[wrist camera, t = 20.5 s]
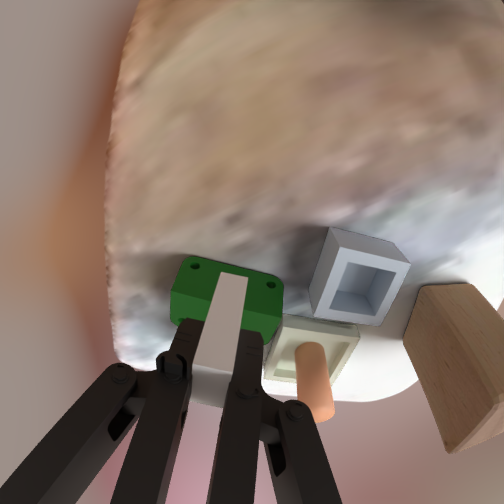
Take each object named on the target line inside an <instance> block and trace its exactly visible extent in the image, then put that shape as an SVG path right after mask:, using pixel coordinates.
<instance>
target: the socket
mask: <svg viewBox="0 0 504 504" xmlns="http://www.w3.org/2000/svg"><path fill="white" fill-rule="evenodd" d="M410 265H411V263H410V262H409V261H408V260H407V258H406V257H405V256H404V255H403V254H402V252H401V251H400V250H399V249H398V248H397V247H396V245H395V244H394V243H392V242H388V241H384V240H380V239H376V238H373V237H369V236H365V235H361V234H357V233H353V232H349V231H345V230H341V229H337V228H333V227H329V230H328V233H327V236H326V240H325V243H324V246H323V249H322V252H321V255H320V258H319V261H318V263H317V266H316V269H315V272H314V275H313V278H312V281H311V283H310V286H309V289H308V291H309V296H310V301H311V307H312V312H313V317H319V318H325V319H331V320H338V321H345V322H351V323H358V324H365V325H373V326H380V325H381V324H382V322H383V320H384V318H385V316H386V314H387V312H388V311H389V309H390V307H391V305H392V303H393V301H394V299H395V297H396V295H397V293H398V291H399V289H400V287H401V285H402V283H403V281H404V278H405V276H406V274H407V272H408V270H409V268H410Z"/></svg>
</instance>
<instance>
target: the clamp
mask: <svg viewBox="0 0 504 504" xmlns="http://www.w3.org/2000/svg"><path fill="white" fill-rule="evenodd" d="M221 272H224V273H229V274H234V275H238V276H243V277H248V282H247V288H246V295H245V301H244V307H243V313H242V319H241V325H240V328H241V329H246V330H251V331H256V332H260V333H261V335H262V338H263V340H264V345H266V344H267V343H269V341H270V339H271V338H272V336H273V334H274V332H275V330H276V328H277V326H278V324H279V323H280V321H281V319H282V308H283V288H284V286H283V283H282V281H281V280H280V279H278V278H277V277H275V276H272V275H268V274H264V273H260V272H256V271H252V270H248V269H244V268H240V267H235V266H231V265H227V264H223V263H219V262H215V261H211V260H208V259H204V258H200V257H188V258H186V259H185V260H184V261H183V263H182V265H181V267H180V270H179V272H178V275H177V277H176V279H175V282H174V284H173V287H172V289H171V302H170V319H171V321H172V322H173V323H174V324H175V325H177V326H178V327H179V324H180V323H181V322H182V321H183V320H184V319H186V318H187V317H188V318H192V319H196V320H200V321H206V318H207V315H208V312H209V308H210V305H211V302H212V299H213V296H214V293H215V289H216V286H217V283H218V280H219V277H220V274H221Z"/></svg>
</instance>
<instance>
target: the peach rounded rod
mask: <svg viewBox="0 0 504 504" xmlns="http://www.w3.org/2000/svg"><path fill="white" fill-rule="evenodd" d="M294 354H295V368H296V382H297V398H298V400H299V401H301V402H304V403H305V404H306V405H307V406H308V407H309V408H310V410H311V412H312V415H313V418H314V421H315V423H319V422H322V421H325V420H327V419H329V418H331V417H332V416H333V415H334V413H335V410H334V403H333V397H332V391H331V385H330V379H329V373H328V367H327V362H326V356H325V351H324V347H323V346H322V345H321V344H319V343H317V342H306V343H303V344H301V345H299V346H298V347H297V348H296V350H295V353H294Z"/></svg>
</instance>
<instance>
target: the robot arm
mask: <svg viewBox="0 0 504 504" xmlns="http://www.w3.org/2000/svg"><path fill="white" fill-rule="evenodd" d="M502 2H503V3H504V0H502ZM247 282H248V277H243V276H238V275H234V274H229V273H224V272H221V274H220V277H219V280H218V283H217V286H216V289H215V293H214V296H213V299H212V302H211V305H210V308H209V312H208V315H207V318H206V321H200V320H196V319H192V318H188V317H187V318H186V319H184V320H183V321H182V322H181V323H180V324H179V327H178V329H177V332H176V334H175V337H174V339H173V341H172V344H171V346H170V349H169V351H164V352H163V353H161V354H159V355H158V357H157V358H156V367H157V369H156V370H153V371H135V370H134V369H133V368H132V367H131V366H130V365H127V364H125V363H115V364H112V365H110V366H109V367H108V368H107V369H106V370H105V371H104V372H103V373H102V374H101V375H100V376H99V377H98V378H97V380H95V382H94V383H93V384H92V385H91V386H90V387H89V388H88V389H87V390H86V391H85V392H84V393H83V394H82V396H81V397H80V398H79V399H78V400H77V401H76V402H75V403H74V404H73V406H71V408H70V409H69V410H68V411H67V412H66V413H65V414H64V416H62V418H61V419H60V420H59V421H58V422H57V423H56V424H55V425H54V426H53V428H52V429H51V430H50V431H49V432H48V433H47V434H46V435H45V437H44V438H43V439H42V440H41V441H40V442H39V443H38V445H37V446H36V447H35V448H34V449H33V451H31V453H30V454H29V455H28V456H27V457H26V458H25V459H24V461H23V462H22V463H21V464H20V465H19V466H18V468H17V469H16V470H15V471H14V472H13V474H12V475H11V476H10V477H9V478H8V480H7V481H6V482H5V483H4V484H3V485H2V487H1V488H0V504H75V503H76V502H77V501H78V499H79V498H80V496H81V495H82V494H83V493H84V491H85V490H86V489H87V487H88V486H89V485H90V483H91V482H92V480H93V479H94V478H95V476H96V475H97V474H98V472H99V471H100V470H101V468H102V467H103V466H104V464H105V463H106V462H107V460H108V459H109V458H110V456H111V455H112V454H113V452H114V451H115V449H116V448H117V447H118V445H119V444H120V443H121V441H122V440H123V439H124V437H125V436H126V435H127V433H128V432H129V430H130V429H131V428H132V426H133V425H134V423H135V422H136V421H137V420H138V418H139V420H138V423H137V425H136V428H135V431H134V434H133V437H132V439H131V442H130V445H129V449H128V451H127V454H126V457H125V459H124V462H123V466H122V468H121V471H120V475H119V477H118V480H117V484H116V486H115V490H114V493H113V496H112V499H111V502H110V504H165V501H166V497H167V493H168V488H169V484H170V480H171V476H172V472H173V467H174V464H175V459H176V456H177V452H178V448H179V444H180V440H181V436H182V432H183V428H184V424H185V420H186V416H187V412H188V404H189V400H190V401H192V402H197V403H201V404H206V405H211V406H216V407H220V408H223V413H222V417H221V421H220V425H219V427H220V428H219V433H218V439H217V445H216V451H215V456H214V462H213V467H212V473H211V479H210V484H209V490H208V496H207V502H206V504H253V503H254V494H255V482H256V472H257V460H258V448H259V440H260V441H263V442H264V447H265V452H266V456H267V460H268V465H269V470H270V474H271V479H272V483H273V487H274V491H275V496H276V500H277V504H342V501H341V498H340V495H339V492H338V489H337V486H336V483H335V480H334V477H333V474H332V471H331V468H330V465H329V462H328V459H327V456H326V453H325V451H324V448H323V444H322V441H321V439H320V436H319V433H318V430H317V427H316V424H315V421H314V418H313V415H312V412H311V410H310V408H309V407H308V406H307V405H306V404H305V403H304V402H301V401H299V400H288V401H285V402H284V403H283V402H281V401H279V400H276V399H274V398H272V397H270V396H269V395H268V394H267V393H265V391H264V390H263V388H262V385H261V376H262V361H263V346H264V340H263V338H262V335H261V333H260V332H256V331H251V330H246V329H241V328H240V325H241V319H242V313H243V307H244V301H245V295H246V288H247Z"/></svg>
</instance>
